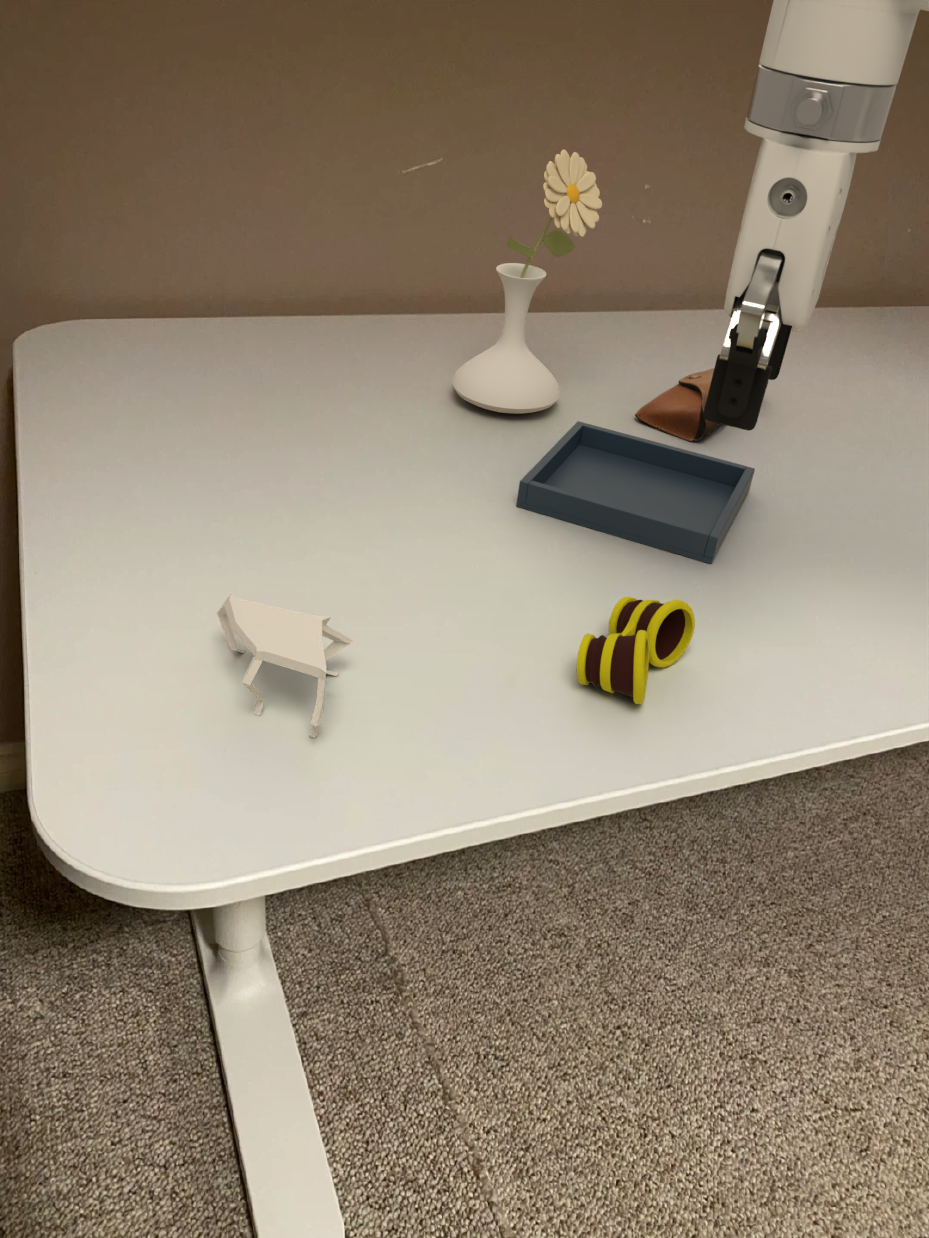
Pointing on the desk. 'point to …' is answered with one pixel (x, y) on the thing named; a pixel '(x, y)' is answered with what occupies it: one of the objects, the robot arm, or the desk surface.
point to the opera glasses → (635, 645)
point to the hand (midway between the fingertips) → (741, 397)
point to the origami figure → (282, 643)
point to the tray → (638, 490)
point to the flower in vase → (509, 367)
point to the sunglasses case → (681, 408)
